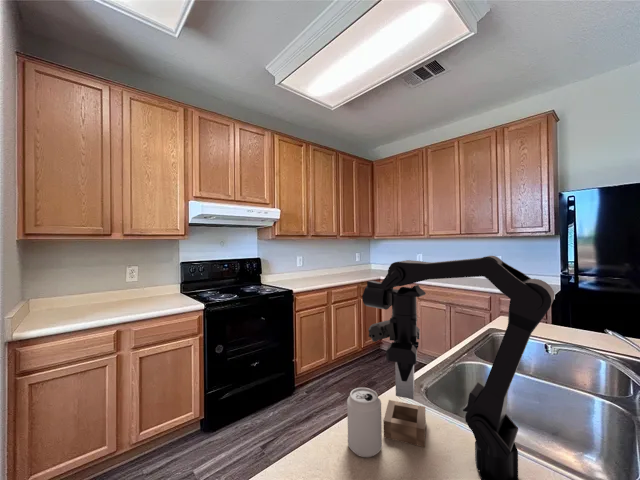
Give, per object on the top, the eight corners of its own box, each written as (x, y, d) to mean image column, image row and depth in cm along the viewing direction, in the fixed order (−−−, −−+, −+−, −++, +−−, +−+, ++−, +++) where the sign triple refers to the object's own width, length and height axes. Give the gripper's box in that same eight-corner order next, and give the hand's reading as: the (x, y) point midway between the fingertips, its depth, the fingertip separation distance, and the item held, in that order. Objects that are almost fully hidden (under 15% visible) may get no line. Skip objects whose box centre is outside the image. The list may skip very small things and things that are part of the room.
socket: (425, 422, 71) (425, 406, 71) (424, 447, 63) (424, 429, 63) (389, 414, 75) (388, 399, 75) (383, 437, 66) (383, 420, 66)
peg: (414, 390, 70) (413, 350, 70) (413, 399, 66) (412, 356, 66) (397, 387, 72) (397, 348, 71) (395, 396, 68) (395, 354, 68)
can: (382, 462, 59) (381, 405, 59) (346, 457, 61) (345, 401, 60) (381, 437, 66) (380, 386, 66) (349, 433, 68) (348, 383, 68)
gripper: (377, 301, 80) (378, 356, 81) (362, 320, 63) (363, 390, 63) (419, 304, 76) (420, 362, 76) (415, 325, 59) (416, 400, 59)
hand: (405, 376), depth 69 cm, fingers closed on peg, 4 cm apart
